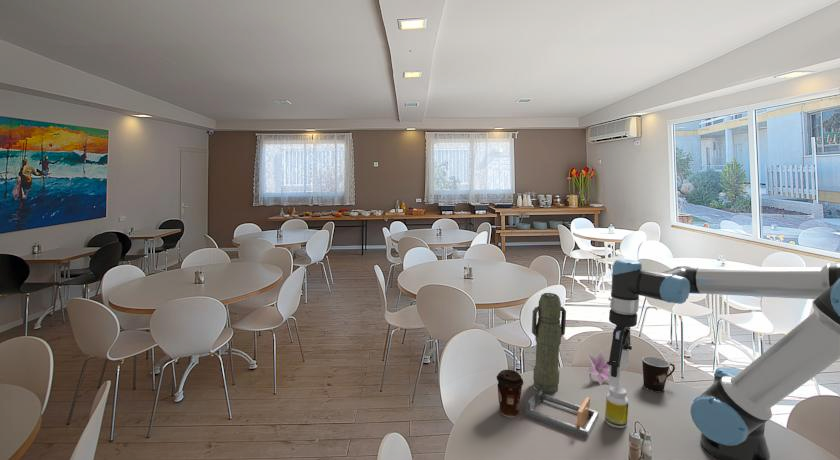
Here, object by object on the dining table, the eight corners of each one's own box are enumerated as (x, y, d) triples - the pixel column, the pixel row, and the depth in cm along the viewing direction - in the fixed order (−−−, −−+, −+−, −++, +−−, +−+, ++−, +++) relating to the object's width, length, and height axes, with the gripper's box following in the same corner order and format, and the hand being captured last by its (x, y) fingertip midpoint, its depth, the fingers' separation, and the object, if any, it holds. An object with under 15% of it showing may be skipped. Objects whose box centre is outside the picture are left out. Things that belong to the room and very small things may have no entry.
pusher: (588, 416, 125) (589, 397, 124) (580, 431, 117) (581, 412, 116) (548, 402, 133) (549, 385, 132) (537, 415, 125) (538, 397, 124)
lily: (581, 386, 146) (594, 370, 141) (574, 361, 156) (586, 345, 152) (610, 395, 147) (624, 379, 142) (601, 370, 157) (614, 354, 152)
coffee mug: (643, 391, 141) (645, 365, 140) (637, 379, 149) (639, 355, 148) (680, 396, 137) (682, 369, 136) (672, 384, 146) (674, 359, 144)
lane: (598, 417, 125) (599, 405, 124) (587, 438, 114) (588, 425, 114) (540, 397, 136) (540, 386, 135) (525, 414, 126) (526, 403, 125)
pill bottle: (629, 430, 118) (632, 396, 117) (607, 427, 119) (610, 393, 118) (623, 418, 124) (625, 385, 123) (602, 415, 126) (604, 383, 124)
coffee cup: (491, 414, 126) (492, 376, 124) (499, 402, 133) (500, 366, 131) (518, 422, 122) (520, 383, 120) (524, 409, 129) (526, 372, 127)
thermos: (525, 382, 146) (528, 292, 142) (553, 379, 149) (558, 290, 144) (536, 395, 138) (541, 299, 133) (566, 391, 140) (572, 297, 136)
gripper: (618, 298, 130) (613, 359, 132) (600, 319, 110) (595, 389, 113) (643, 303, 125) (638, 365, 128) (629, 325, 106) (623, 398, 108)
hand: (618, 377), depth 120 cm, fingers open, 13 cm apart
